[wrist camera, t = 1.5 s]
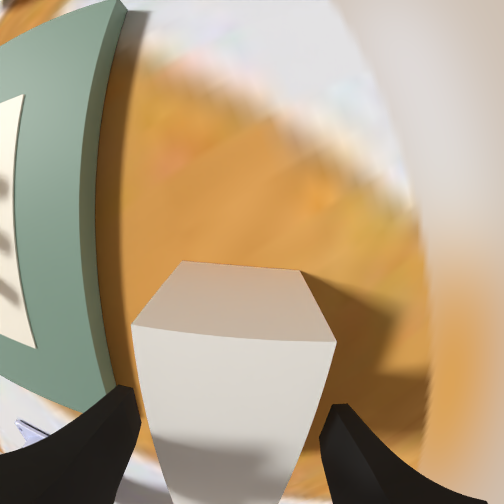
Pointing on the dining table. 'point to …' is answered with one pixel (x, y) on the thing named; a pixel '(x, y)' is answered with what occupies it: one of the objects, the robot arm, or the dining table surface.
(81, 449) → the robot arm
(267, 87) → the dining table surface
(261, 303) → the plug housing
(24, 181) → the board
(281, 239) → the dining table surface
